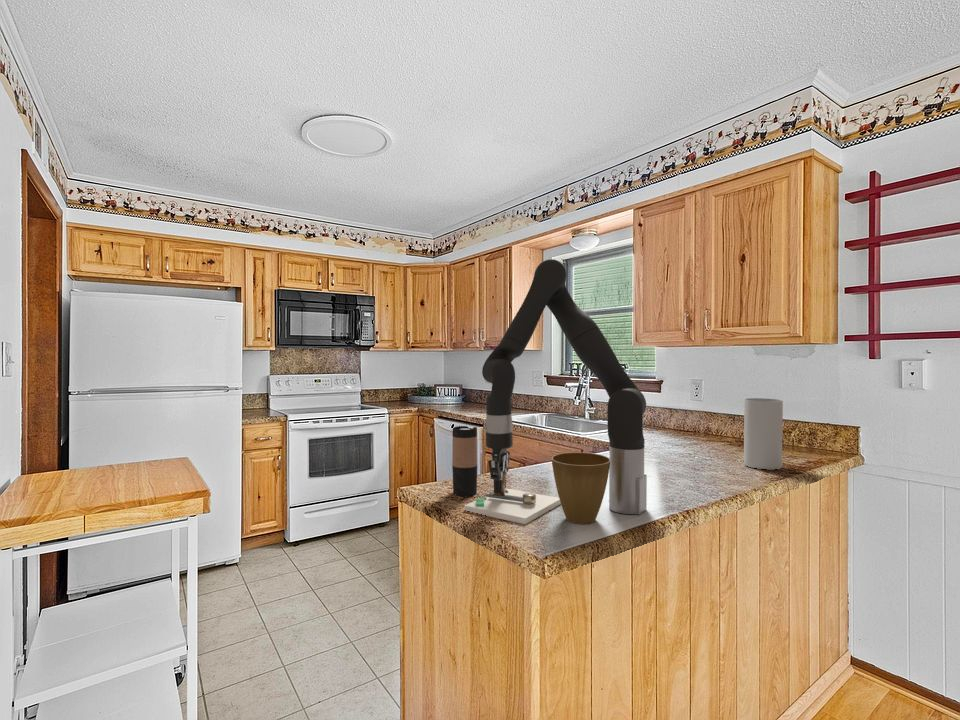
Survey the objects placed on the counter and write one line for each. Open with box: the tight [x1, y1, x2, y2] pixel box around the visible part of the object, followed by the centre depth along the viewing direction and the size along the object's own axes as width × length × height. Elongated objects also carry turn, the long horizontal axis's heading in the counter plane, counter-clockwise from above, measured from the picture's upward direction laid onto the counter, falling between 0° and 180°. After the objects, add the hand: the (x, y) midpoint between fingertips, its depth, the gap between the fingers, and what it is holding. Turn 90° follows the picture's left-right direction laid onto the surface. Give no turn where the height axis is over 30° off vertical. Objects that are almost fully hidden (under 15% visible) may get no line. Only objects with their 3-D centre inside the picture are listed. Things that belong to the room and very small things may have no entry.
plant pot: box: [551, 451, 610, 525], centre depth 133 cm, size 15×15×16 cm
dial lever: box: [488, 472, 536, 504], centre depth 143 cm, size 14×4×7 cm, turn 64°
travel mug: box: [451, 425, 478, 497], centre depth 157 cm, size 8×8×20 cm
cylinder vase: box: [743, 397, 784, 471], centre depth 192 cm, size 12×12×25 cm
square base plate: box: [463, 487, 561, 525], centre depth 144 cm, size 20×21×2 cm
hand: (500, 490), depth 145 cm, fingers closed on dial lever, 3 cm apart
